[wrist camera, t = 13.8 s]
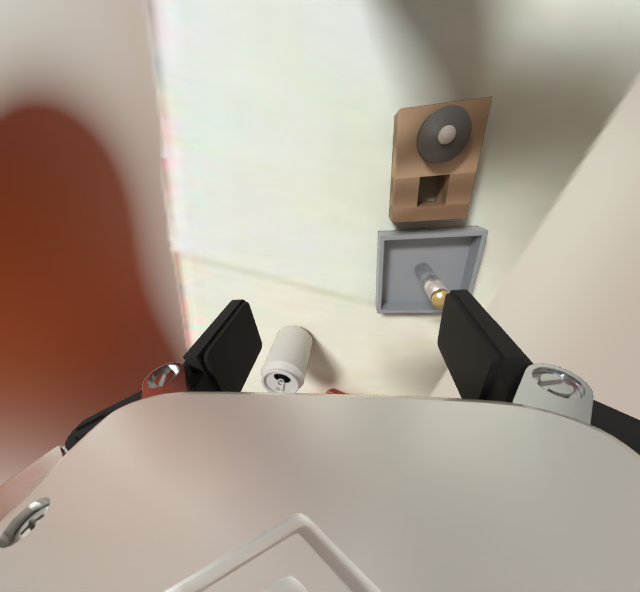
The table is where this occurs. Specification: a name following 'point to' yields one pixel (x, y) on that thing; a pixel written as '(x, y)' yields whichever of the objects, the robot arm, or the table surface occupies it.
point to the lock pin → (431, 284)
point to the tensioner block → (436, 158)
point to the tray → (433, 249)
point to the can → (287, 361)
